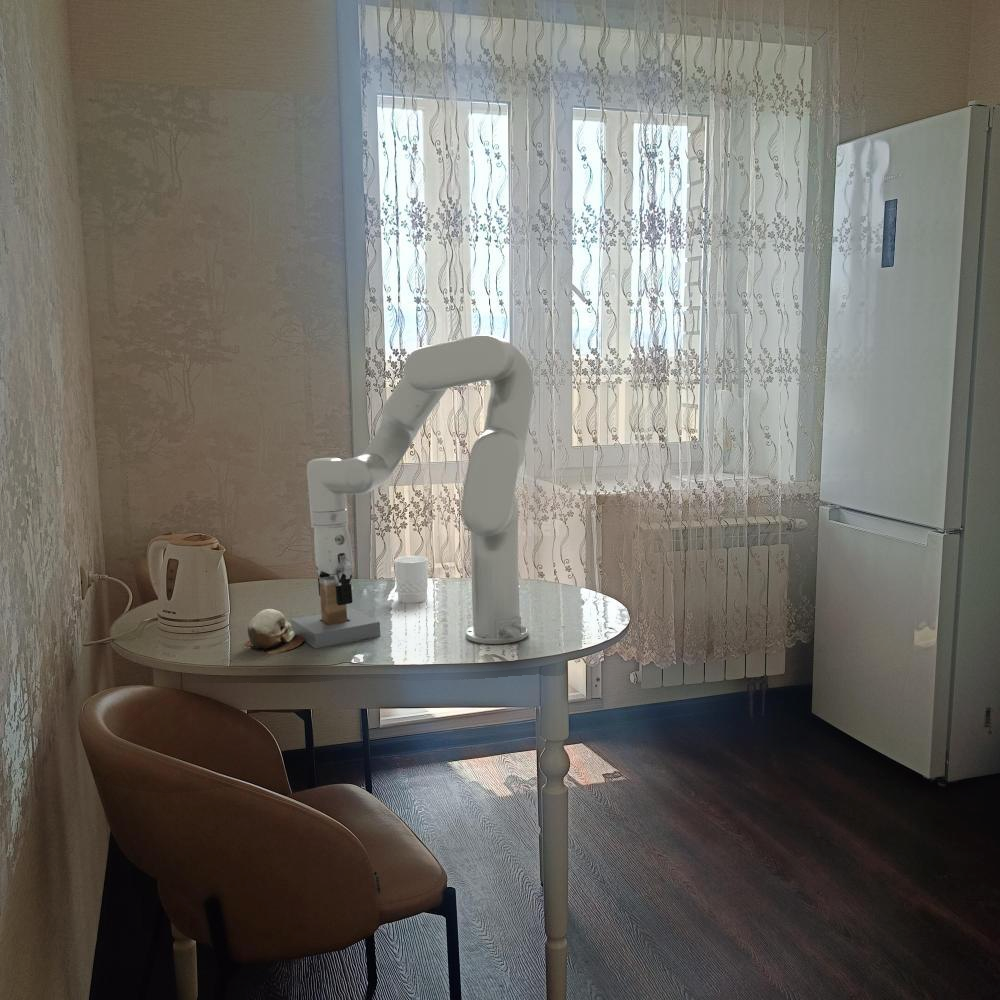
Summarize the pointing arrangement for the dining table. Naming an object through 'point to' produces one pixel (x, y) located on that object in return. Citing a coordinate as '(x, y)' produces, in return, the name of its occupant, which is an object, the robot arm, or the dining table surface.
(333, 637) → the socket
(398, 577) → the white cup
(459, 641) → the dining table surface
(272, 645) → the skull
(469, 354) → the robot arm
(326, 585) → the peg
